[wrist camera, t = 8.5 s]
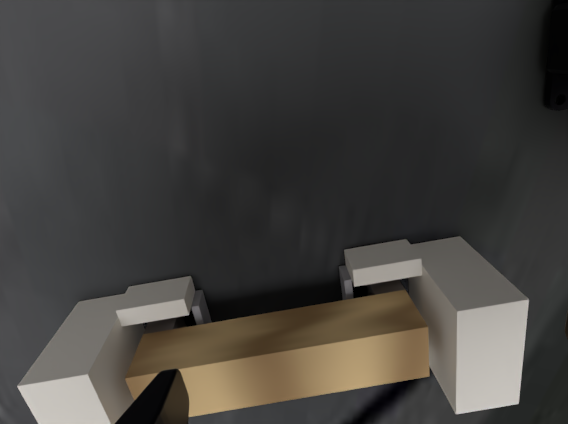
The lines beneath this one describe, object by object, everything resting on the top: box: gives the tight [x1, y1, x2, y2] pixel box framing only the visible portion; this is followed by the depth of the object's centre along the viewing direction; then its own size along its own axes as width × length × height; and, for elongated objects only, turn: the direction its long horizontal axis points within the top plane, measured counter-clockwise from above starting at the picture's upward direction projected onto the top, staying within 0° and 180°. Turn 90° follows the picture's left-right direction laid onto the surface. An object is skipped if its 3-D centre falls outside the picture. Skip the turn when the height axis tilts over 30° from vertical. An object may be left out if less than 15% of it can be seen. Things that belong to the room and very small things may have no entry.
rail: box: [125, 279, 429, 417], centre depth 21 cm, size 14×3×5 cm, turn 99°
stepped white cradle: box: [17, 236, 529, 424], centre depth 20 cm, size 22×7×6 cm, turn 99°
